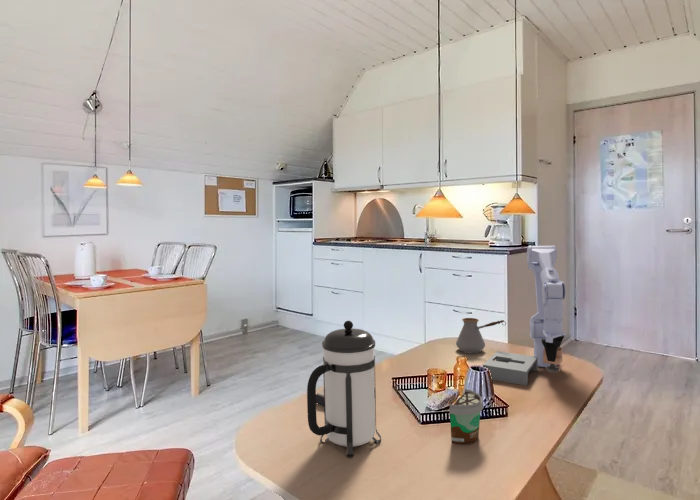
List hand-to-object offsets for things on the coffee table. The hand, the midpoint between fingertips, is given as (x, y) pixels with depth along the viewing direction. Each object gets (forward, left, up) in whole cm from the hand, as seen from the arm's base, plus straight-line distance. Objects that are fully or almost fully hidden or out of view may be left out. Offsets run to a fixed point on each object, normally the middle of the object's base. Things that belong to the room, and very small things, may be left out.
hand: (552, 358), depth 149 cm
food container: (+54, -10, -7) cm, 55 cm away
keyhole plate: (+2, -13, -7) cm, 15 cm away
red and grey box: (+50, -49, -7) cm, 71 cm away
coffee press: (+72, -34, -7) cm, 80 cm away
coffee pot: (-16, -29, -7) cm, 34 cm away
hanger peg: (0, 0, -4) cm, 4 cm away
